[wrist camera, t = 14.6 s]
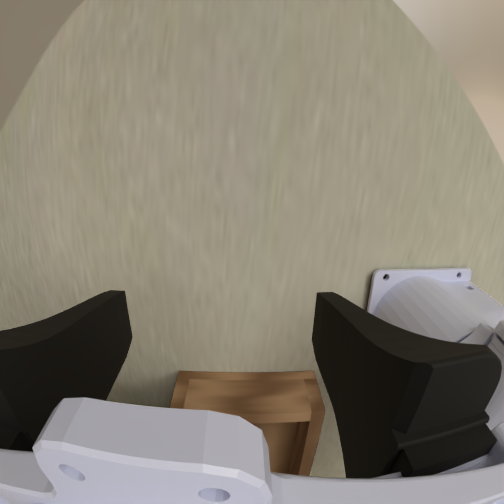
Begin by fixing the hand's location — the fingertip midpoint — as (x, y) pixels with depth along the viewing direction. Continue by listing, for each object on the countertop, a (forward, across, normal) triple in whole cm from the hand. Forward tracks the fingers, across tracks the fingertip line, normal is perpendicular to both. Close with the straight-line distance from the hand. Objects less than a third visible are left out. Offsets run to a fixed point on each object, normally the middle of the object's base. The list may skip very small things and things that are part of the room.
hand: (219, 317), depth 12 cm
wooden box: (+10, -1, +19) cm, 22 cm away
